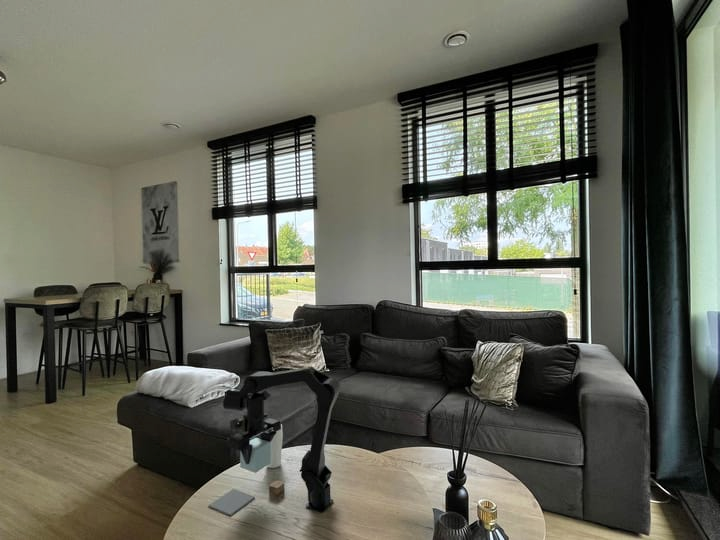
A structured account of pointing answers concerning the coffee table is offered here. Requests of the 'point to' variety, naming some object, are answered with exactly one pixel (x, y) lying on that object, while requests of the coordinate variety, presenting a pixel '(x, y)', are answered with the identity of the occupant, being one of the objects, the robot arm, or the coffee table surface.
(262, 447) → the pale blue cube
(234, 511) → the gray square plate
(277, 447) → the white tall cylinder
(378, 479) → the coffee table surface
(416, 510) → the coffee table surface
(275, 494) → the walnut block
